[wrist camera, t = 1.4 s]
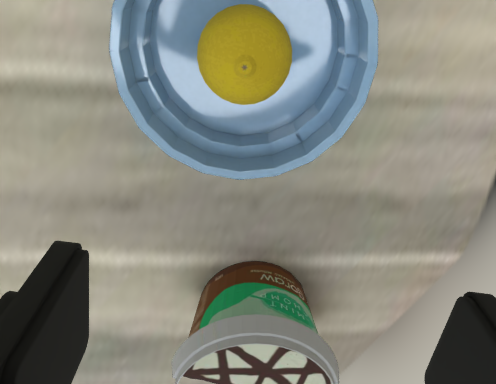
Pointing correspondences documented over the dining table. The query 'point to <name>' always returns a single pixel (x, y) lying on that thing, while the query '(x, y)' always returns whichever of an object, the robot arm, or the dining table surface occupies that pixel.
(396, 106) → the dining table surface
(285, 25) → the bowl
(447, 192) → the dining table surface
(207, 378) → the food container
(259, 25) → the lemon
